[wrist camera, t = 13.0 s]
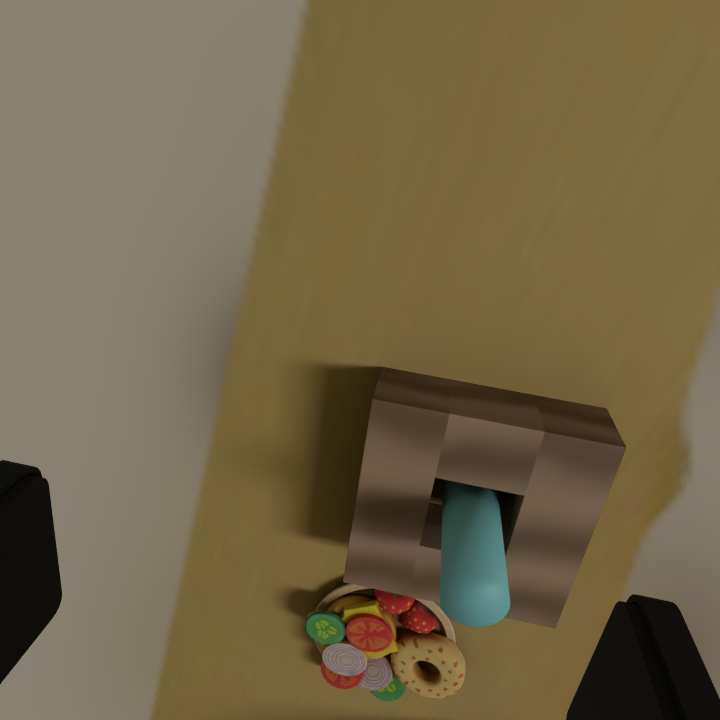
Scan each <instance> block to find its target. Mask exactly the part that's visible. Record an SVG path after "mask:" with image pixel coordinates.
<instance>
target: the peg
mask: <svg viewBox="0 0 720 720" xmlns="http://www.w3.org/2000/svg"><path fill="white" fill-rule="evenodd" d="M440 604H441V607H442V609H443V611H444V612H445V613H446V614H447V615H448V616H449V617H450V618H451V619H453V620H454V621H456V622H458V623H460V624H463V625H466V626H472V627H484V626H489V625H492V624H495V623H497V622H499V621H500V620H501V619H503V618H504V617H505V616H506V614H507V613H508V611H509V608H510V595H509V586H508V578H507V569H506V560H505V551H504V542H503V533H502V524H501V515H500V506H499V498H498V490H494V489H489V488H484V487H479V486H474V485H469V484H464V483H459V482H454V481H449V480H444V479H443V508H442V541H441V573H440Z"/></svg>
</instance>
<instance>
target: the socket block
mask: <svg viewBox="0 0 720 720" xmlns="http://www.w3.org/2000/svg"><path fill="white" fill-rule="evenodd" d="M625 450H626V446H625V444H624V442H623V440H622V438H621V436H620V434H619V432H618V430H617V428H616V426H615V424H614V422H613V420H612V418H611V416H610V414H609V412H608V410H607V409H605V408H599V407H594V406H589V405H583V404H578V403H572V402H567V401H562V400H556V399H551V398H546V397H540V396H535V395H529V394H524V393H519V392H513V391H508V390H503V389H497V388H492V387H487V386H481V385H476V384H470V383H465V382H460V381H454V380H449V379H444V378H438V377H433V376H427V375H422V374H417V373H411V372H406V371H401V370H395V369H390V368H385V367H381V371H380V374H379V378H378V381H377V385H376V388H375V392H374V395H373V399H372V404H371V411H370V417H369V423H368V429H367V435H366V442H365V448H364V454H363V460H362V466H361V473H360V479H359V485H358V491H357V497H356V504H355V510H354V516H353V522H352V529H351V535H350V541H349V547H348V553H347V560H346V566H345V572H344V578H343V582H345V583H350V584H355V585H359V586H364V587H368V588H373V589H377V590H382V591H386V592H391V593H396V594H400V595H405V596H409V597H414V598H418V599H423V600H427V601H432V602H436V603H440V573H441V541H442V508H443V506H440V505H435V504H431V503H429V502H430V497H431V493H432V489H433V484H434V480H435V478H439V479H444V480H449V481H454V482H459V483H464V484H469V485H474V486H479V487H484V488H489V489H494V490H499V491H504V492H506V494H505V497H504V500H503V504H502V507H501V511H500V515H501V524H502V533H503V542H504V551H505V560H506V569H507V578H508V586H509V595H510V608H509V611H508V613H507V614H506V616H505V618H509V619H514V620H518V621H523V622H527V623H532V624H536V625H541V626H546V627H550V628H556V625H557V623H558V620H559V618H560V615H561V612H562V610H563V607H564V605H565V602H566V600H567V597H568V595H569V592H570V590H571V587H572V584H573V582H574V579H575V577H576V574H577V572H578V569H579V567H580V564H581V562H582V559H583V557H584V554H585V551H586V549H587V546H588V544H589V541H590V539H591V536H592V534H593V531H594V529H595V526H596V523H597V521H598V518H599V516H600V513H601V511H602V508H603V506H604V503H605V501H606V498H607V496H608V493H609V490H610V488H611V485H612V483H613V480H614V478H615V475H616V473H617V470H618V468H619V465H620V462H621V460H622V457H623V455H624V452H625Z"/></svg>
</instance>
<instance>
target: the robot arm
mask: <svg viewBox="0 0 720 720" xmlns="http://www.w3.org/2000/svg"><path fill="white" fill-rule="evenodd" d="M61 598H62V589H61V581H60V573H59V565H58V556H57V548H56V540H55V532H54V524H53V516H52V508H51V499H50V491H49V484H48V481H47V480H46V479H45V478H42V475H41V472H40V470H39V469H38V468H36V467H33V466H28V465H24V464H19V463H14V462H10V461H5V460H2V461H0V684H1V682H2V681H3V680H4V679H5V677H6V676H7V675H8V674H9V672H10V671H11V670H12V668H13V667H14V666H15V665H16V664H17V662H18V661H19V660H20V658H21V657H22V656H23V655H24V653H25V652H26V651H27V650H28V648H29V647H30V646H31V645H32V643H33V642H34V641H35V640H36V638H37V637H38V636H39V634H40V633H41V632H42V630H43V629H44V628H45V627H46V625H47V624H48V623H49V622H50V621H51V619H52V618H53V617H54V615H55V614H56V612H57V610H58V608H59V605H60V603H61ZM566 720H720V699H719V696H718V694H717V692H716V690H715V687H714V685H713V683H712V681H711V679H710V676H709V674H708V672H707V670H706V667H705V665H704V663H703V661H702V659H701V656H700V654H699V652H698V650H697V647H696V645H695V643H694V641H693V638H692V636H691V634H690V632H689V629H688V627H687V625H686V623H685V620H684V618H683V616H682V614H681V612H680V610H679V608H678V607H677V605H675V604H674V603H673V602H669V601H664V600H659V599H655V598H650V597H645V596H641V595H634V594H633V595H632V596H630V597H629V599H628V600H627V602H621V601H619V602H617V603H616V605H615V606H614V609H613V611H612V613H611V615H610V618H609V620H608V622H607V624H606V627H605V629H604V631H603V633H602V636H601V638H600V640H599V642H598V644H597V647H596V649H595V651H594V653H593V656H592V658H591V660H590V662H589V665H588V667H587V669H586V671H585V674H584V676H583V678H582V680H581V683H580V685H579V687H578V689H577V692H576V694H575V696H574V698H573V701H572V703H571V705H570V707H569V710H568V713H567V718H566Z"/></svg>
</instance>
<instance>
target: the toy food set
mask: <svg viewBox="0 0 720 720" xmlns="http://www.w3.org/2000/svg"><path fill="white" fill-rule="evenodd" d="M307 618H308V619H307V621H306V626H305V628H306V631H307V633H308V635H309V636H310V637H311V638H313V639H314V641H315V644H316V646H317V648H318V650H319V651H320V653H321V654H322V662H321V672H322V675H323V677H324V678H325V679H326V681H327V682H328V683H330V684H331V685H332V686H334V687H337V688H341V689H349V688H352V687H355V686H357V685H359V686H360V687H362V688H364V689H366V690H370V691H371V692H372V694H373V695H374V696H376V697H377V698H379V699H381V700H384V701H393V700H396V699H398V698H399V697H401V696H402V694H403V693H404V690H405V688H408V689H409V690H411V691H412V692H414V693H416V694H418V695H420V696H423V697H426V698H433V699H440V698H445V697H448V696H451V695H453V694H454V693H456V692H457V691H458V690H459V689H460V687H461V686H462V684H463V681H464V677H465V673H466V663H465V659H464V657H463V655H462V653H461V651H460V650H459V649H458V647H457V646H456V645H455V633H454V630H453V627H452V624H451V622H450V620H449V619H448V617H447V615H446V614H445V613H444V611H443V610H442V609H441V608H440V607H439V606H438V605H437V604H436V603H435V602H432V601H427V600H423V599H418V598H414V597H409V596H405V595H400V594H396V593H391V592H386V591H382V590H377V589H373V588H368V587H364V586H359V585H355V584H350V583H348V584H345V585H343V586H340V587H338V588H336V589H335V590H333V591H332V592H330V593H329V594H328V595H326V596H325V597H324V598H323V599H322V601H321V602H320V603H319V605H318V606H317V608H316V610H315V611H313V612H310V613H308V616H307Z"/></svg>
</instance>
